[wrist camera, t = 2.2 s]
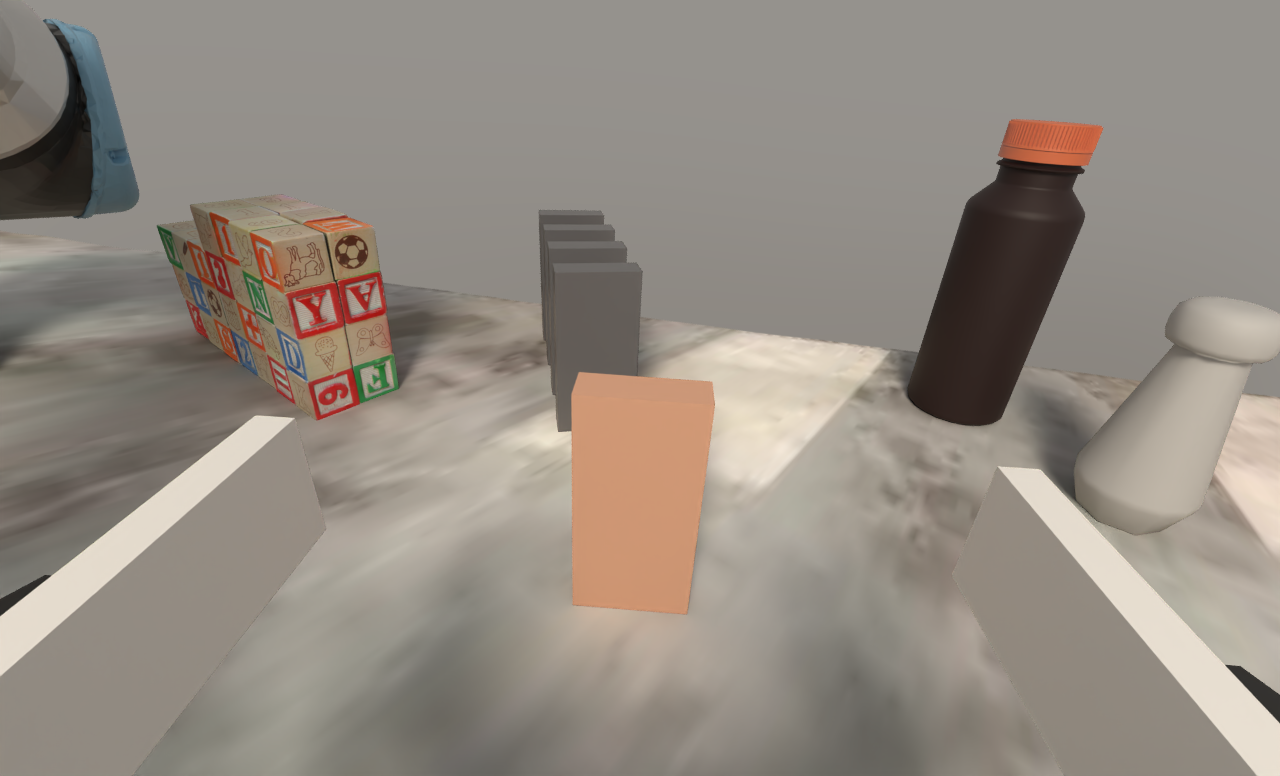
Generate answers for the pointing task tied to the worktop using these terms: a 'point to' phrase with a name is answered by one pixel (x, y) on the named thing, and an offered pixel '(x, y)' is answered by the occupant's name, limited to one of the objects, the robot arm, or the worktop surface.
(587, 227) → the domino
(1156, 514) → the salt shaker
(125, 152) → the robot arm
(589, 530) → the orange domino
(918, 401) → the vinegar
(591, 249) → the domino
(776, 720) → the worktop surface
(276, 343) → the stack of blocks
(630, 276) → the domino
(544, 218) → the domino
